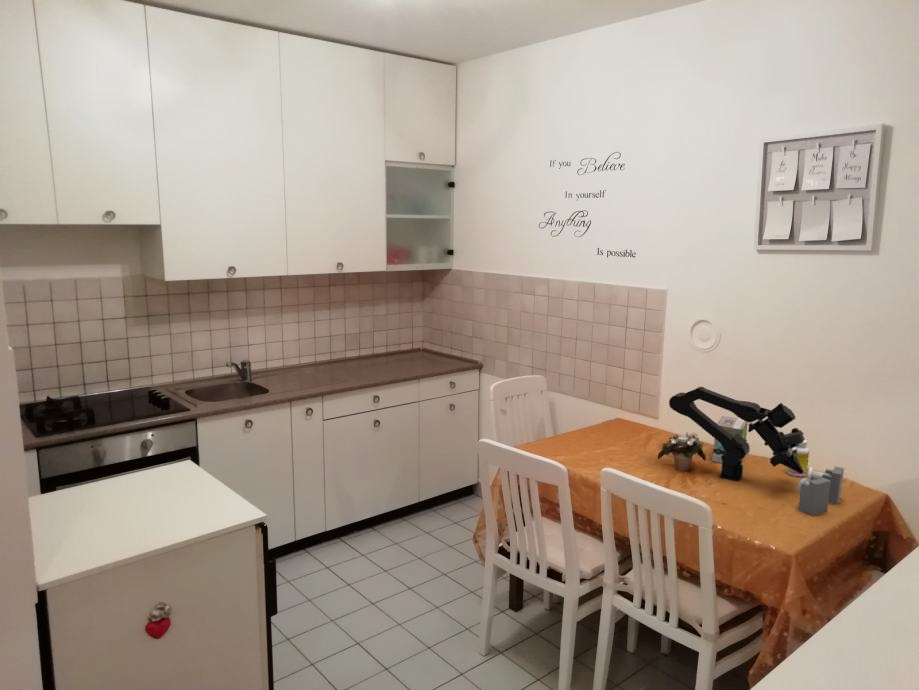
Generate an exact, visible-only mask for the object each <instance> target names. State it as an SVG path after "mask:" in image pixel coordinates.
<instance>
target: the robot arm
mask: <svg viewBox="0 0 919 690" xmlns="http://www.w3.org/2000/svg"><path fill="white" fill-rule="evenodd" d="M698 400H701V401H703V402H706V403H708V404H711V405H714V406H716V407H718V408H721V409H723V410H727V411H728V412H730V413H733V414H734V415H735V416H736V418H737V417H738V419H742V420H744V421H746V422H748V429H747V433H751V432H752V431H754V430H755V432H756V433H757V434H758V435H759V437H760V438H761V439H762V440H763V442H764V445H765V447H766V446H768V447H769V448H770V450H771V451H772V456H771V457H770V459H769V460H770V461H769V463H770V464H771V465H772V467H773V468H774V467H777V466H778V465H783V466H785V467H786V468H787V467H789V468H791V469H793V470H795V471H796V472H798V473H800V474H801V473H803V472H804V471H803V469H802V467H801V465H800V463H799V461H798V458H797V456H796V455H797V449H796V450H794V451H793V449H792V448H793V447H795V446H798V445H799V444H800V443H802V442H803V441H804V440H806V439H805V437H804V432H803V431H802V430H800V429H798V428H797V427H794V428H791V430H790V431H791V432H788V433H786V434H785V433H784V432H783V431H779V430H778V429H777V428H779V429H782V428H783V427H785V426H786V425H788V424H789V423H792V422H793V421H794V420H796V415H795V413H794V412H793V411H792V409H790V408H789V407H788V406H786V405H784V404H783V402H780V403H779V404H777V405H776V406H775V407H773V408H772V409H768V408H766V407H761V406H760V405H759V404H758V403H755V402H751V401H746V400H737V399H734V398H732V397H728V396H726V395H724V394H720V393H718V392H716V391H712V390H710V389H707V388H706V387H704V386H698V387H696V388H694V389H692V390H689V391H687V392H678V393H676V394H674V395H672V396H671V397H670V398H669V401H668V403H669V404H668V405H669V408H670V409H671V410H673V411H675V412H676V413H678V414H680V415H682V416H685V417H688V418H689V419H691V421H692V422H694V423H695V424H697V426H699V427H701V429H703V430H704V431H705V432H706V433H707V434H709V435H710V436H711V437H712V438H713V439H714V440H715V439H716V440H717V441H719V442H720V443H721V445H722V447H723V448H724V450H725V451H726V452H725V453H724V454H723V455H722V456H721V459H722V463H721V471H720V472H721V473H720V475H719V478H722V479H726V480H733V481H736V482H737V481H738V482H739V481H740V480H741V479H742V478H743V475H744V465H743V459H745V458H746V456H747V455H748V454H749V453H750V449H751V448H750V444H749V443H748V442H747V441H748V439H747V438H746V439H744V438H742V437H741V436H740V435H739V434H738V433H737V434H736V435H735V436H734V435H731V434H729V433H728V432H726V431H725V430H724V429H723V428H721V427H720V426H719V425H718V424H717V422H715V421H714V420H713V419H712V418H710V417H709V416H708V415H706V414H705V413H704V412H703V411H701V410H700V409H699V408H698V407H697V405H696V404H695V401H698ZM791 449H792V450H791ZM741 459H742V460H741Z"/></svg>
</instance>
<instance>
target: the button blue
mask: <svg viewBox="0 0 919 690" xmlns="http://www.w3.org/2000/svg"><path fill="white" fill-rule="evenodd" d="M809 481H810V480H809V479H807V477H803V478H801V480H800V481H799V483H798V485H797V490H798V492H799V493H800V491H801V483H807V484H809Z"/></svg>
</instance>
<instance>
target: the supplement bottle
mask: <svg viewBox="0 0 919 690" xmlns="http://www.w3.org/2000/svg"><path fill="white" fill-rule="evenodd" d="M807 445H808V441H807V440H806V439H805V440H804V441H803V442H802V443H800V444H799V445H798V446H795V447H793V448H792V449H793V451H794V450H796V449H797V455H796V456H797V458H798V461H799V463H800V465H801V467H802V469H803V471H804V472H803V473H801V474H800V473H798V472H796V471H795V470H793V469H791V468H789V467H787V466H786V473H787V474H789V475H790V476H793V477H798V476H799V477H801V478H802V476H803V477H806V476H807V475H808V467H809V465H808V464H809V454H810V449H809V448H808V447H807ZM792 449H791V450H792Z"/></svg>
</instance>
